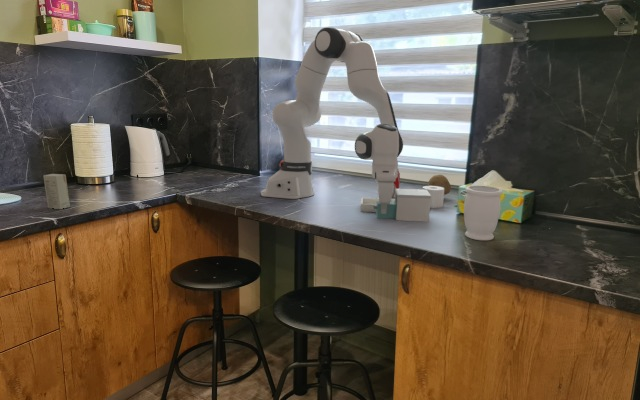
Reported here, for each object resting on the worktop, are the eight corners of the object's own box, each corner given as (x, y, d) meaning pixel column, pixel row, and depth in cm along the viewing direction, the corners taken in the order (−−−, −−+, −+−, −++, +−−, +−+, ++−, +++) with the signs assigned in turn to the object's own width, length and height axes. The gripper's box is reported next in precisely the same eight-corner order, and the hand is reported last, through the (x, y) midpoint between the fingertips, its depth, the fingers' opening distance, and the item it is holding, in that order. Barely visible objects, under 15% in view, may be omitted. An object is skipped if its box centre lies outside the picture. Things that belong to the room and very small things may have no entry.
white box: (396, 220, 155) (397, 194, 153) (394, 212, 165) (395, 188, 163) (428, 221, 154) (430, 195, 152) (424, 213, 164) (426, 189, 162)
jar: (456, 231, 143) (460, 185, 140) (487, 231, 144) (492, 185, 140) (469, 242, 133) (474, 192, 129) (503, 242, 134) (509, 192, 130)
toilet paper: (419, 208, 171) (420, 190, 170) (422, 202, 182) (423, 185, 180) (442, 210, 169) (443, 192, 167) (443, 203, 180) (444, 186, 178)
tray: (360, 211, 166) (361, 204, 165) (360, 204, 176) (361, 197, 175) (405, 212, 165) (406, 205, 164) (403, 206, 175) (403, 199, 174)
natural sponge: (451, 197, 190) (453, 174, 188) (447, 201, 182) (449, 177, 180) (429, 195, 194) (431, 172, 192) (425, 199, 186) (426, 175, 184)
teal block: (373, 217, 158) (374, 204, 157) (372, 214, 163) (373, 200, 161) (411, 218, 157) (412, 204, 156) (409, 215, 162) (410, 201, 161)
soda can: (398, 199, 185) (400, 170, 182) (381, 198, 186) (382, 170, 183) (399, 196, 192) (400, 168, 189) (382, 195, 193) (383, 167, 190)
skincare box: (70, 207, 166) (66, 174, 163) (60, 209, 162) (56, 176, 159) (57, 205, 168) (53, 173, 165) (47, 208, 164) (42, 175, 161)
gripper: (374, 167, 167) (373, 203, 170) (376, 177, 147) (374, 218, 150) (391, 167, 166) (390, 204, 169) (396, 177, 146) (394, 218, 150)
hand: (383, 210), depth 160 cm, fingers closed on teal block, 5 cm apart
